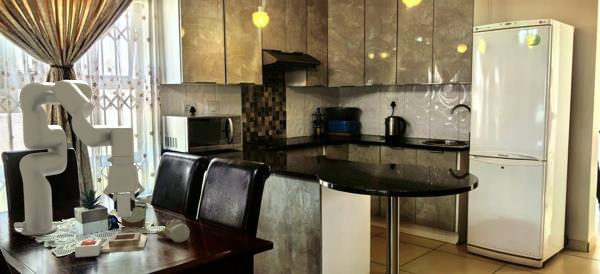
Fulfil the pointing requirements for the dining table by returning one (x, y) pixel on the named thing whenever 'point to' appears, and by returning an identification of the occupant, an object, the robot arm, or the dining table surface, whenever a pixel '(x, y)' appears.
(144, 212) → the food container
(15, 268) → the dining table surface
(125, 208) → the block
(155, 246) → the dining table surface
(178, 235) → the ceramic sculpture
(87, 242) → the button
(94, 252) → the button box
